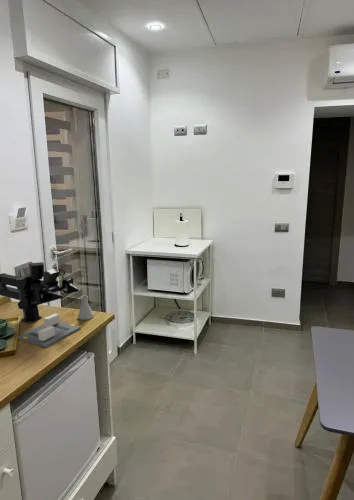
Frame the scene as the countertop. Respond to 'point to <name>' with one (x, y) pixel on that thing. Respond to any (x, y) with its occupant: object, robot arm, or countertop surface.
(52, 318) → the slider
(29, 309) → the robot arm
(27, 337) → the switch panel
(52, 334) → the slider
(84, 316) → the flask
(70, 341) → the countertop surface
